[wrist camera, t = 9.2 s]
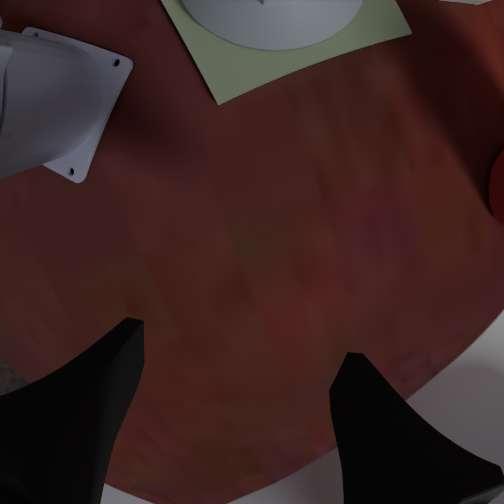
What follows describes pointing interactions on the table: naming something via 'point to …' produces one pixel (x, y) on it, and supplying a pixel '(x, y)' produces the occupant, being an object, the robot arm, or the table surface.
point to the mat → (283, 62)
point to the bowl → (469, 1)
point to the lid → (273, 21)
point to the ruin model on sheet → (10, 379)
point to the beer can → (497, 189)
